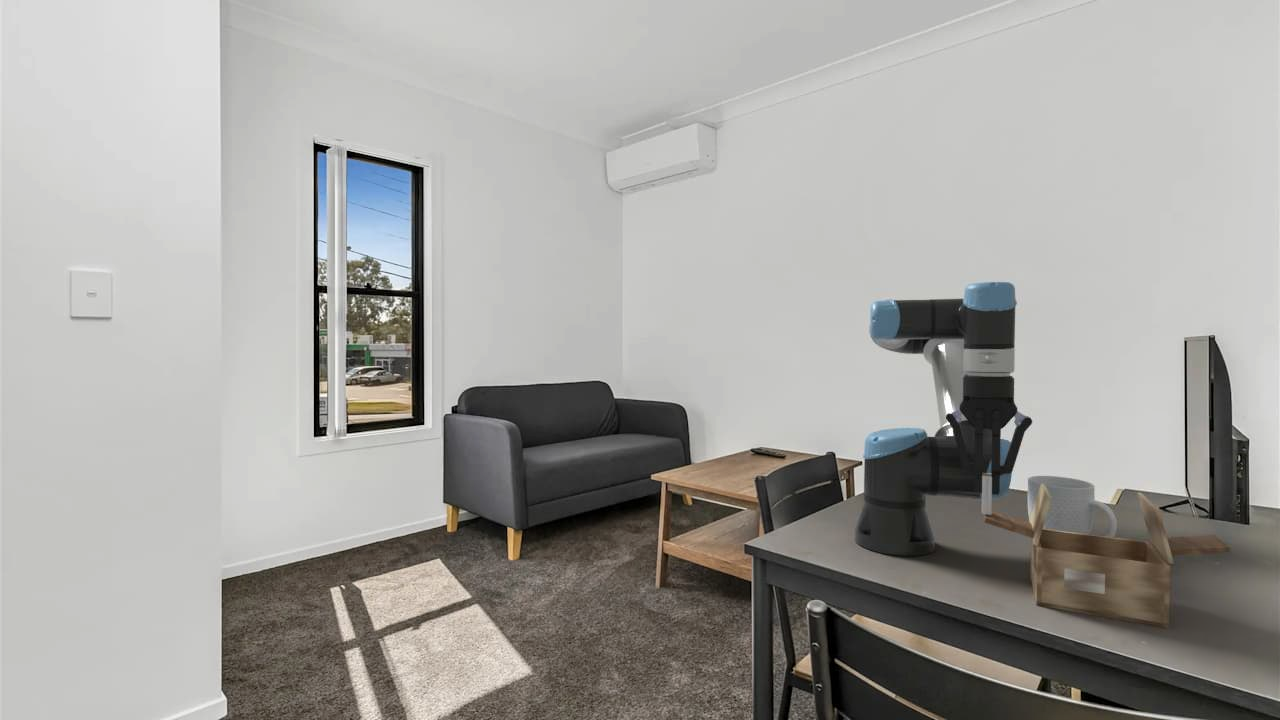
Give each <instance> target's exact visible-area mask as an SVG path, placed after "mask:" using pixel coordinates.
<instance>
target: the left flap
mask: <svg viewBox="0 0 1280 720" xmlns="http://www.w3.org/2000/svg"><path fill="white" fill-rule="evenodd" d="M1051 500H1052V499H1051V497H1050V495H1049V492H1048V490H1047V488H1046V486H1045V484H1043V483H1041V485H1040V488H1039V492H1038V495H1037V498H1036V502H1035V505H1034V508H1033V511H1032V515H1031V518H1030V521H1025V520H1022V519H1019V518H1017V517H1016V518H1015V517H1012V516H1009V515H1006V514H1004V513H1003V514H1002V513H999V512H996V511H993V510H991V515H987V514H983V521H984V523H985V524H988V525H992V526H995V527H997V528H1001V529H1004V530H1006V531H1010V532H1013V533H1016V534H1019V535H1022V536H1026V537H1028V538H1030V539H1031V538H1032V540H1033V544H1034V545H1038V542H1039V539H1040V536H1041V532H1042V529H1043V526H1044V522H1045V519H1046V516H1047V513H1048V509H1049V506H1050V503H1051Z"/></svg>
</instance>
